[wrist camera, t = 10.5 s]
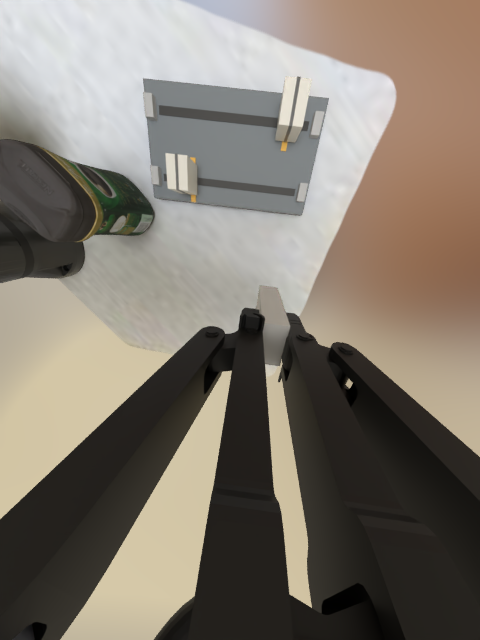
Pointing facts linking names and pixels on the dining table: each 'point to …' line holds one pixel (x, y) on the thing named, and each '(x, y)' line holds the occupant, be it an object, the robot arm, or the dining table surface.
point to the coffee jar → (68, 195)
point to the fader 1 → (181, 174)
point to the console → (231, 145)
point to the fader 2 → (292, 108)
